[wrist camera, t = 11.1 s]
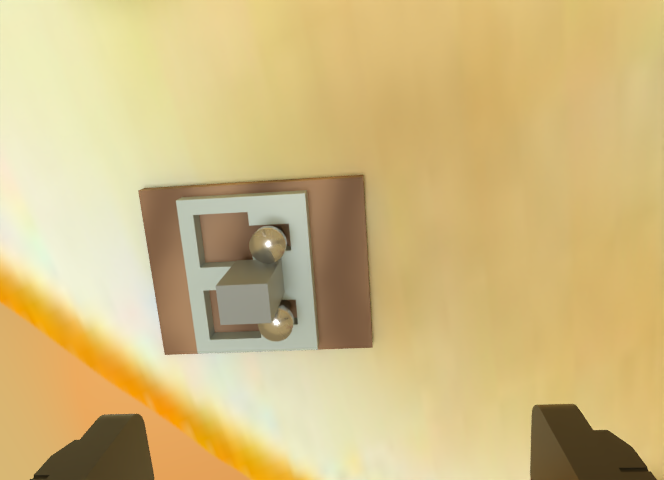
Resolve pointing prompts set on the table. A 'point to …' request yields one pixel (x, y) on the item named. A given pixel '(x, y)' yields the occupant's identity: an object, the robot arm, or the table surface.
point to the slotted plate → (216, 270)
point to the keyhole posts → (269, 249)
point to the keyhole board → (233, 244)
